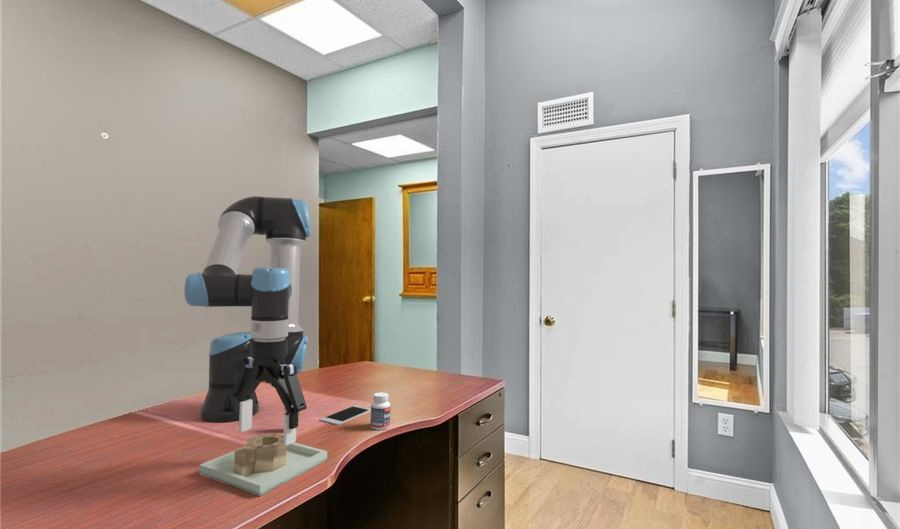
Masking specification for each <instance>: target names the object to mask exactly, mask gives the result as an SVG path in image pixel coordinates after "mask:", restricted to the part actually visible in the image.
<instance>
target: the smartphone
mask: <svg viewBox="0 0 900 529" xmlns="http://www.w3.org/2000/svg"><path fill="white" fill-rule="evenodd" d="M367 413H371V407H367V406H361V405H359V404H358V405H357V404H354V405H352V406H349V407H346V408H343V409H342V410H340V411H337V412H334V413H332V414H329V415H327V416H324V417H321V418H319V422H323V423H327V424H331V425H335V426H340V425H343V424H345V423H347V422H349V421H352V420H354V419H357V418H359V417H361V416H363V415H366V414H367Z"/></svg>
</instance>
